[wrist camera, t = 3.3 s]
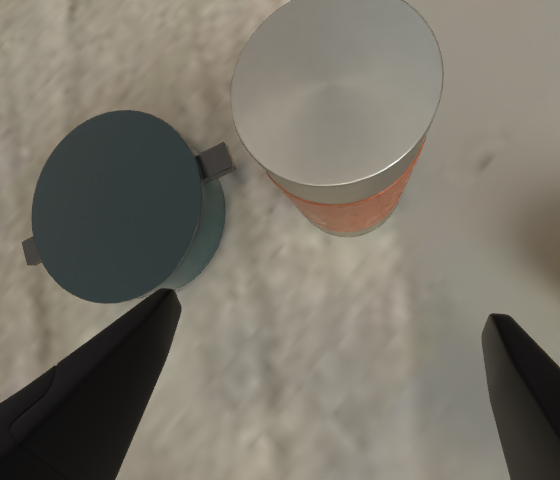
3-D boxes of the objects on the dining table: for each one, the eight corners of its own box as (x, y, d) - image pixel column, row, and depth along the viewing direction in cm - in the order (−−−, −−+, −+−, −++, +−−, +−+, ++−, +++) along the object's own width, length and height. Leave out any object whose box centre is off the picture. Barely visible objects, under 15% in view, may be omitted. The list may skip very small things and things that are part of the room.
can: (423, 185, 22) (499, 65, 10) (347, 258, 23) (327, 233, 10) (348, 120, 24) (331, -55, 11) (279, 190, 25) (190, 97, 12)
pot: (278, 251, 24) (259, 245, 20) (86, 332, 27) (32, 342, 23) (219, 98, 26) (190, 62, 22) (48, 187, 29) (-7, 171, 25)
